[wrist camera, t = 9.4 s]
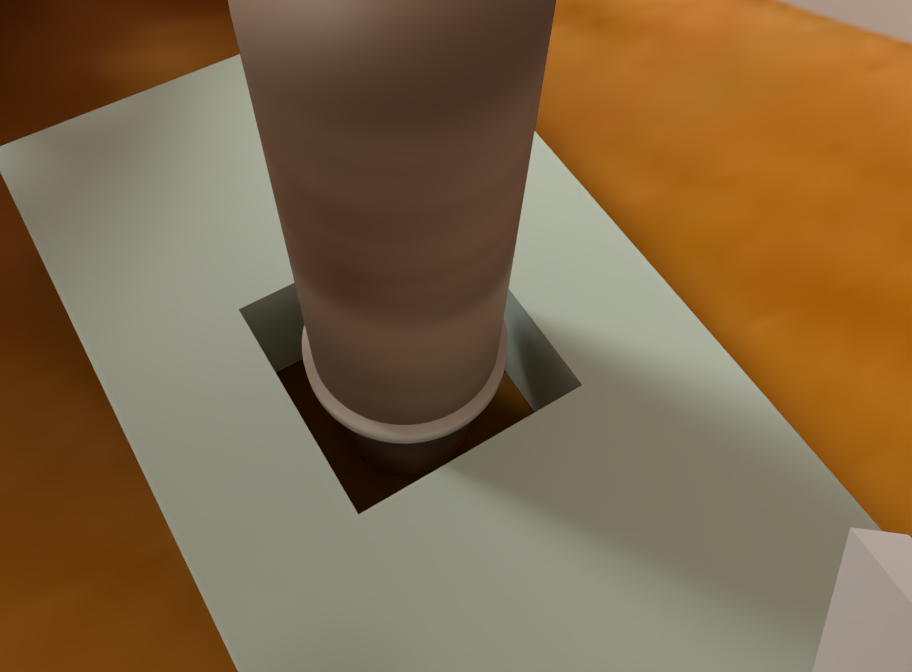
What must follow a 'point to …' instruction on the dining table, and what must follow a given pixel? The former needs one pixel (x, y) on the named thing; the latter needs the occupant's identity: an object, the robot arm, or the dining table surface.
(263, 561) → the board
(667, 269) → the dining table surface
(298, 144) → the peg
